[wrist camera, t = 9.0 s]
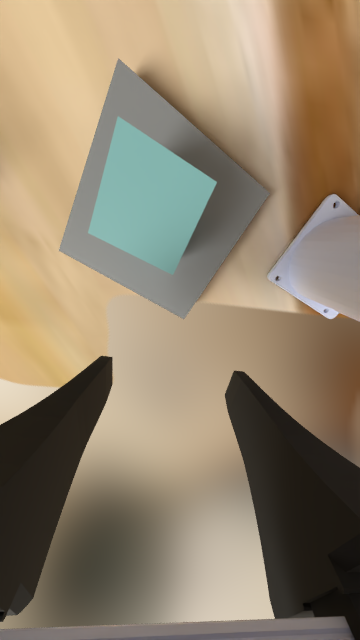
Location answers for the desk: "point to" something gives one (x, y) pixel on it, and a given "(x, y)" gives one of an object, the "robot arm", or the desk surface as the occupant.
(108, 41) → the desk surface
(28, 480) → the robot arm
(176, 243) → the teal block
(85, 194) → the slate base
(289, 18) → the desk surface
